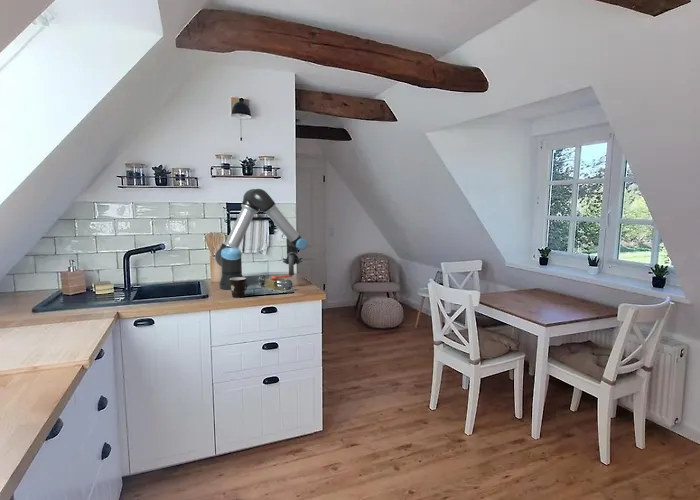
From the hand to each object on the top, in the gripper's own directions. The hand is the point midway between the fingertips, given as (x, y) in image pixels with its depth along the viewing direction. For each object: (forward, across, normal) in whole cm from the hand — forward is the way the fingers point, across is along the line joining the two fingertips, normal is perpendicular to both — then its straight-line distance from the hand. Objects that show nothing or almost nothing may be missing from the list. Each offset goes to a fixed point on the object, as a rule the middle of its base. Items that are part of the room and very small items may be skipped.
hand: (292, 263), depth 249 cm
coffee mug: (+25, +29, -14) cm, 41 cm away
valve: (+5, +11, -14) cm, 18 cm away
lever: (+4, +6, -8) cm, 11 cm away
